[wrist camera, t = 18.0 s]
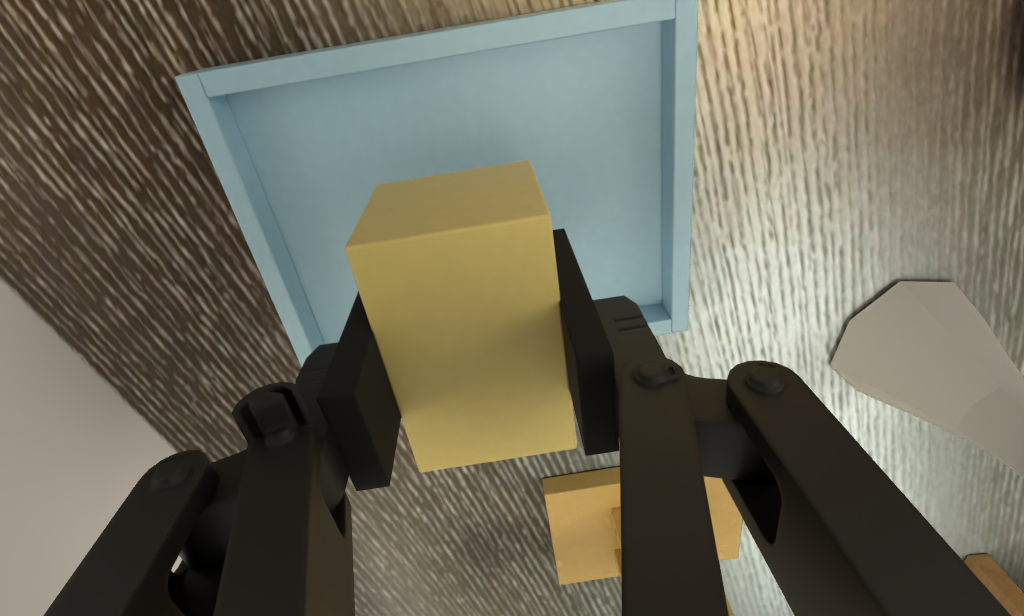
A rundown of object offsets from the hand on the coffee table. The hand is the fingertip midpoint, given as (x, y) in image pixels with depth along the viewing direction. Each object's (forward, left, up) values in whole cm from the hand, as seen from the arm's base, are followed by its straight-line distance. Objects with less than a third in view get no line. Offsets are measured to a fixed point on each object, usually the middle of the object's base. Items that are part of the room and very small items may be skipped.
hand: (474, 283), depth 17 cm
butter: (0, 0, 0) cm, 0 cm away
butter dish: (0, 0, -7) cm, 7 cm away
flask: (+21, -11, -7) cm, 25 cm away
